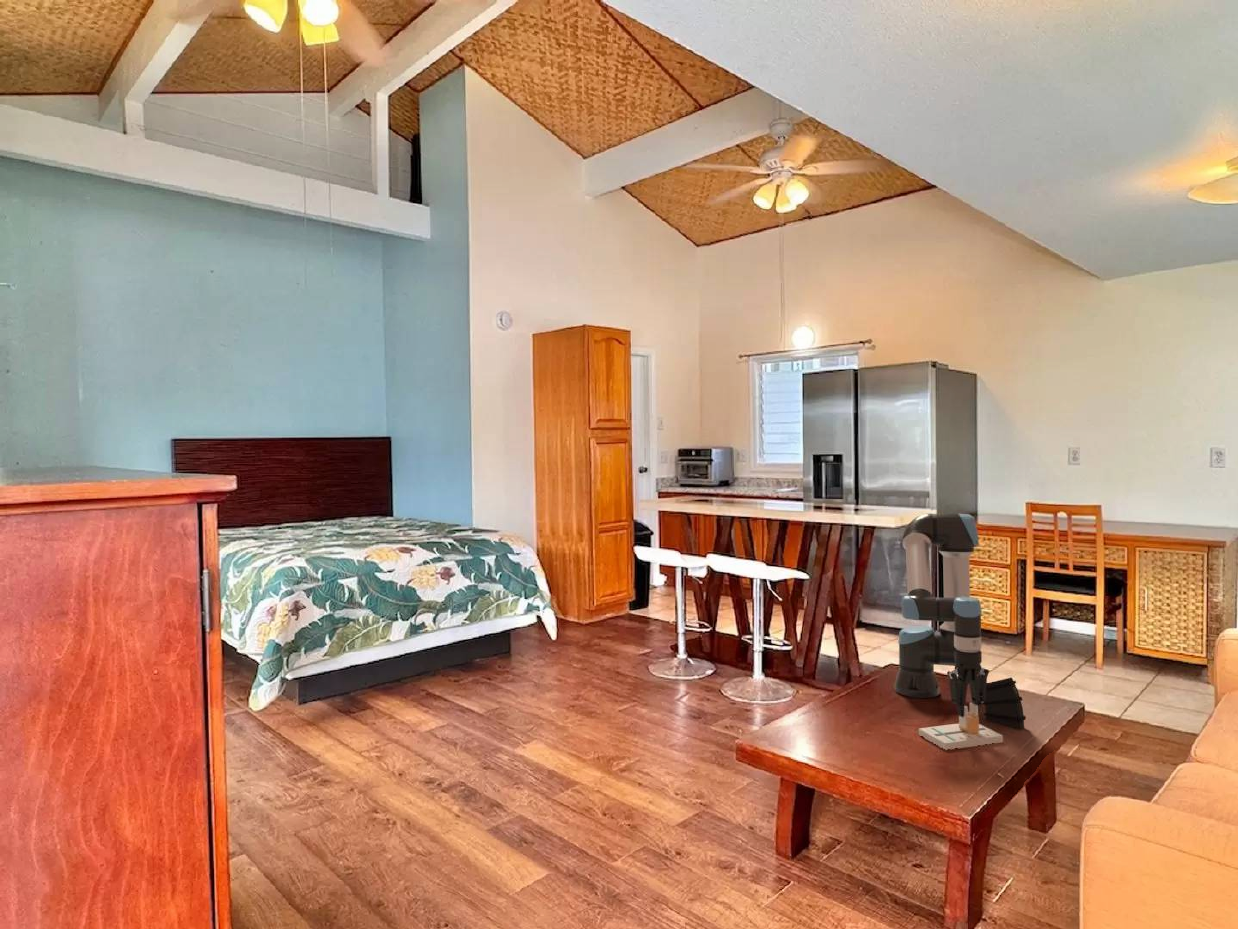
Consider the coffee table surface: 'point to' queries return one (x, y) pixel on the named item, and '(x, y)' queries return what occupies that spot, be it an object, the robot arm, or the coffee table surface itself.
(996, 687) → the magazine
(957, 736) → the fader console
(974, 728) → the fader tab
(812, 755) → the coffee table surface
